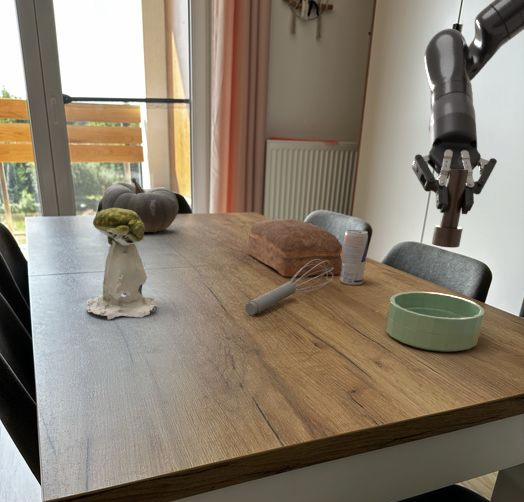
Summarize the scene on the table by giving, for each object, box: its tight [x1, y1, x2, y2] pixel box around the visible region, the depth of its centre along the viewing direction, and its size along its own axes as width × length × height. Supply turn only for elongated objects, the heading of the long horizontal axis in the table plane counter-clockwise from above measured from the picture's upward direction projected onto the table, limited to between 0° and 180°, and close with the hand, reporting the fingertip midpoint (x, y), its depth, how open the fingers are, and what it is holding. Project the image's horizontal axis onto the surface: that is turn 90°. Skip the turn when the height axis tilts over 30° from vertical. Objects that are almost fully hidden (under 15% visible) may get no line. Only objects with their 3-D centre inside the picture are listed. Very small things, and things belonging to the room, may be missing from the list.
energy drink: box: [339, 229, 369, 286], centre depth 120 cm, size 5×5×12 cm
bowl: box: [385, 291, 486, 353], centre depth 89 cm, size 15×15×6 cm
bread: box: [246, 218, 343, 278], centre depth 136 cm, size 17×29×11 cm, turn 20°
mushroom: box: [85, 208, 158, 320], centre depth 93 cm, size 12×13×18 cm
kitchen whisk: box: [242, 259, 334, 318], centre depth 107 cm, size 6×34×6 cm, turn 147°
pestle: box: [431, 169, 468, 249], centre depth 84 cm, size 4×4×12 cm
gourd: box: [101, 177, 180, 233], centre depth 172 cm, size 25×25×17 cm
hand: (455, 209), depth 82 cm, fingers closed on pestle, 3 cm apart
